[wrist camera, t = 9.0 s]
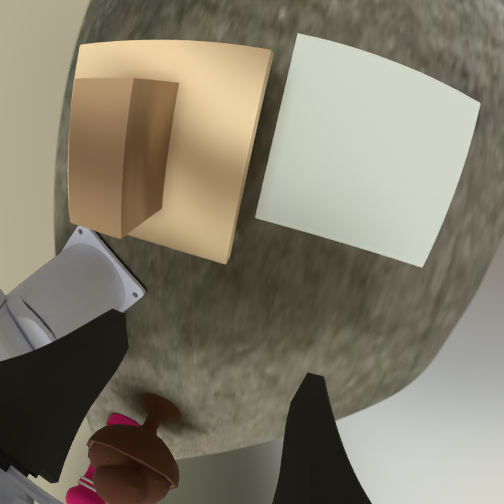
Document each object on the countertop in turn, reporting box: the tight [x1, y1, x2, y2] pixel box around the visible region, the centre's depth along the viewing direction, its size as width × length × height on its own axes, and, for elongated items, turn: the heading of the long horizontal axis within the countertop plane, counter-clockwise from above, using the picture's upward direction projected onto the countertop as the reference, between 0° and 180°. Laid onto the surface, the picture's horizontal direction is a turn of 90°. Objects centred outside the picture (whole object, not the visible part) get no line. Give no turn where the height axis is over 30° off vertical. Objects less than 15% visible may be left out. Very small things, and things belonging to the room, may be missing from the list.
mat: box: [255, 34, 480, 267], centre depth 16 cm, size 12×12×1 cm
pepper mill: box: [66, 414, 140, 504], centre depth 29 cm, size 7×7×20 cm
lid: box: [68, 40, 274, 264], centre depth 12 cm, size 10×10×4 cm
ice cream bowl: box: [87, 394, 181, 504], centre depth 26 cm, size 11×11×15 cm
